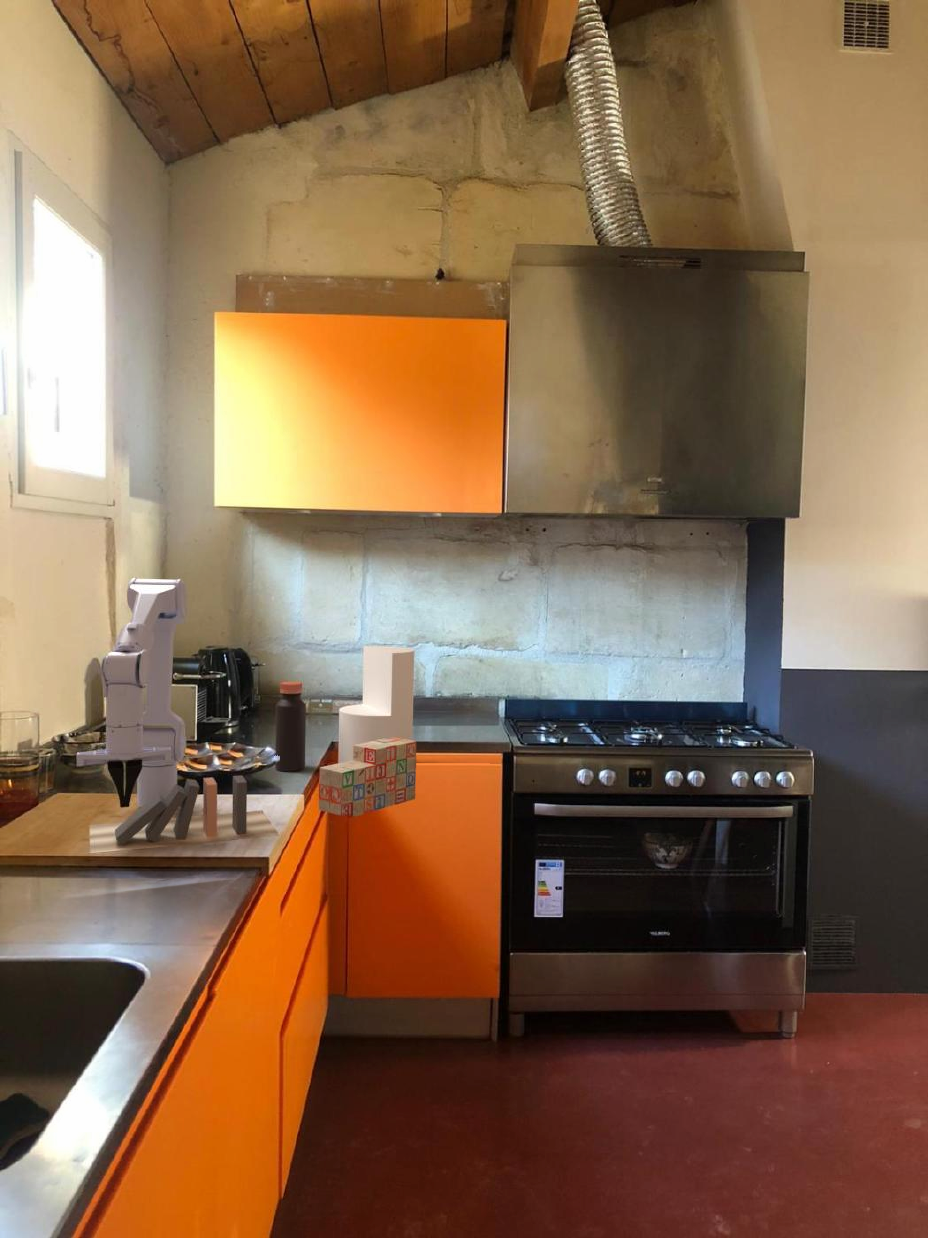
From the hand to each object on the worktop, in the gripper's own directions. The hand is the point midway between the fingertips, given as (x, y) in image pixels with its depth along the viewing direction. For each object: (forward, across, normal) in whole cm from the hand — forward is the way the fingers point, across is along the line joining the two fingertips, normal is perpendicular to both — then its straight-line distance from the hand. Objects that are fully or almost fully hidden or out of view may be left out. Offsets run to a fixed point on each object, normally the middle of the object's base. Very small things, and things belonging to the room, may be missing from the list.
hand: (124, 805), depth 146 cm
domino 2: (+5, +4, 0) cm, 7 cm away
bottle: (+7, +38, +47) cm, 61 cm away
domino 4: (+6, +14, 0) cm, 15 cm away
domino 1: (+5, -1, 0) cm, 5 cm away
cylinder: (+7, +57, +42) cm, 71 cm away
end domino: (+6, +19, 0) cm, 20 cm away
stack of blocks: (+7, +46, +11) cm, 47 cm away
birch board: (+7, +10, +3) cm, 12 cm away
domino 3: (+6, +9, 0) cm, 10 cm away
